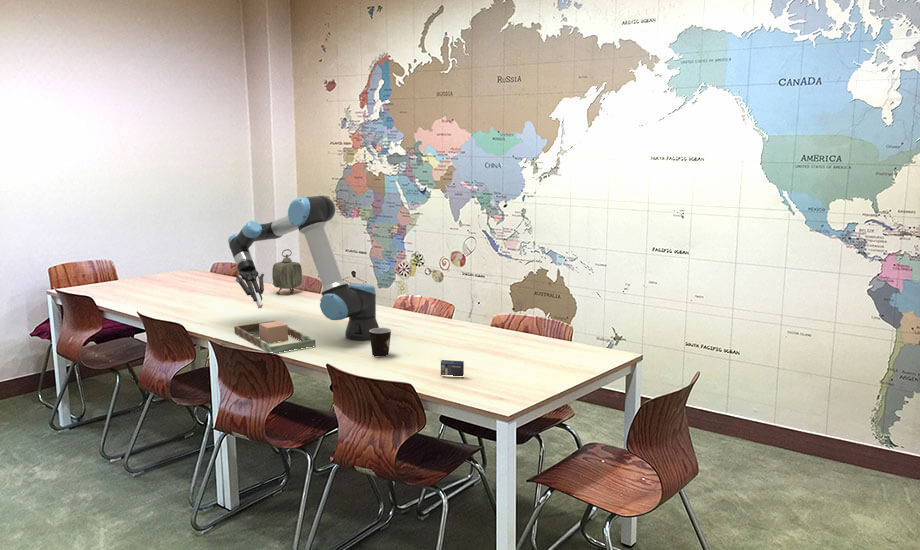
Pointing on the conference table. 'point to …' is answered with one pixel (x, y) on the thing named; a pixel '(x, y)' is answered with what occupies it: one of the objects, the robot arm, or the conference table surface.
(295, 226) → the robot arm
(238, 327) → the wooden tray
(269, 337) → the terracotta block
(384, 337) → the coffee mug
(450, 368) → the mini dv tape
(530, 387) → the conference table surface
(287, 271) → the tabletop clock
